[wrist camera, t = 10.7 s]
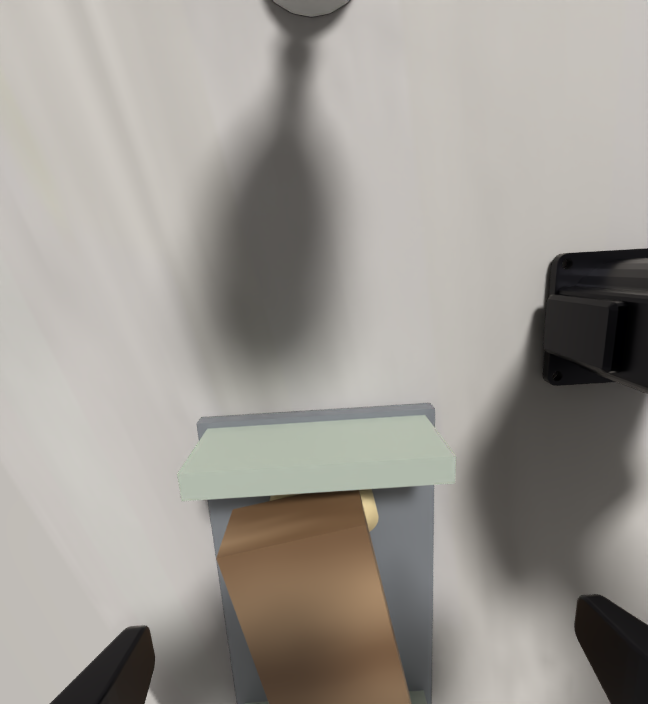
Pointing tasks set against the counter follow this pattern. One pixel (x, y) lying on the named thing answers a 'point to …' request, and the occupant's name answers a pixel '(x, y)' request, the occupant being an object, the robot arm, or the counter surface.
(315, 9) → the chalice
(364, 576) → the shelf board
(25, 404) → the counter surface
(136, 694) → the robot arm
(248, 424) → the peg cradle
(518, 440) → the counter surface
